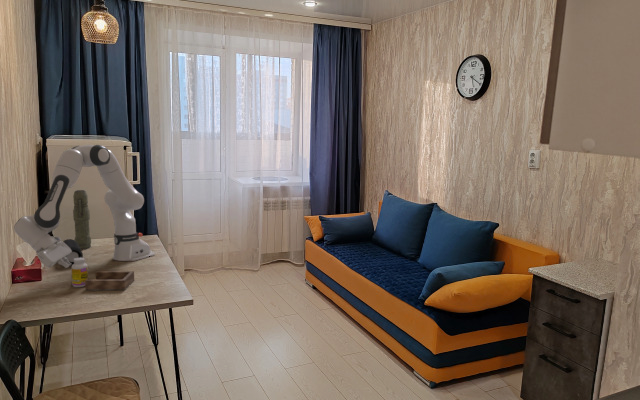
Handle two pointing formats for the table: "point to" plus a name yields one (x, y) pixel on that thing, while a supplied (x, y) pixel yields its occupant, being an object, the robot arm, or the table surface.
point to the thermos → (81, 219)
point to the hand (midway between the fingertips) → (69, 266)
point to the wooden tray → (110, 280)
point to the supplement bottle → (79, 272)
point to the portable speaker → (73, 250)
